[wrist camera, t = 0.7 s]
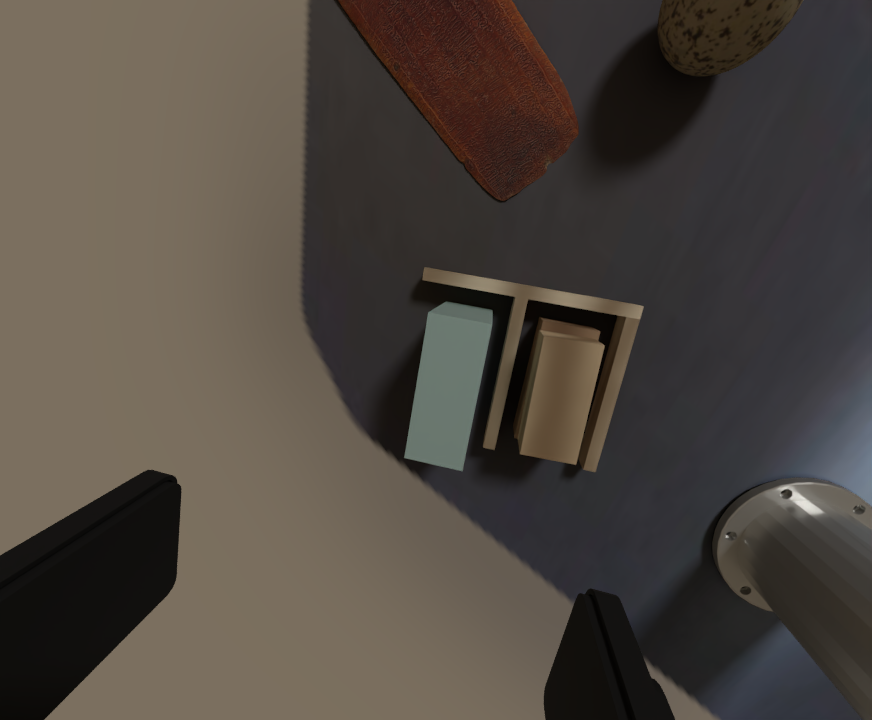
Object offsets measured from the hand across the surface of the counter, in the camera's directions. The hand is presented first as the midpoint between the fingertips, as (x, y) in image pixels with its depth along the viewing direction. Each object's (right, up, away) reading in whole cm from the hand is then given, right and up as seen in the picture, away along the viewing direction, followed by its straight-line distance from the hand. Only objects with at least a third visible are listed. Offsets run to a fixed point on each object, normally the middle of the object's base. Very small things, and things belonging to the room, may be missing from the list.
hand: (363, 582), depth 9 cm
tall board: (+4, +5, +26) cm, 27 cm away
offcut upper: (+11, +3, +23) cm, 26 cm away
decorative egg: (+20, +28, +19) cm, 39 cm away
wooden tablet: (+2, +30, +22) cm, 37 cm away
